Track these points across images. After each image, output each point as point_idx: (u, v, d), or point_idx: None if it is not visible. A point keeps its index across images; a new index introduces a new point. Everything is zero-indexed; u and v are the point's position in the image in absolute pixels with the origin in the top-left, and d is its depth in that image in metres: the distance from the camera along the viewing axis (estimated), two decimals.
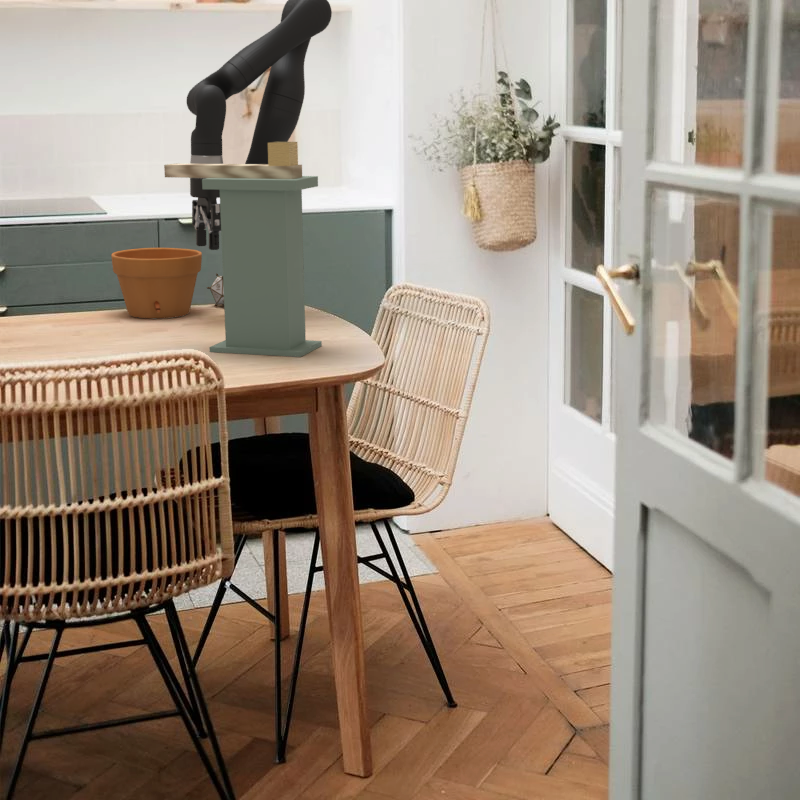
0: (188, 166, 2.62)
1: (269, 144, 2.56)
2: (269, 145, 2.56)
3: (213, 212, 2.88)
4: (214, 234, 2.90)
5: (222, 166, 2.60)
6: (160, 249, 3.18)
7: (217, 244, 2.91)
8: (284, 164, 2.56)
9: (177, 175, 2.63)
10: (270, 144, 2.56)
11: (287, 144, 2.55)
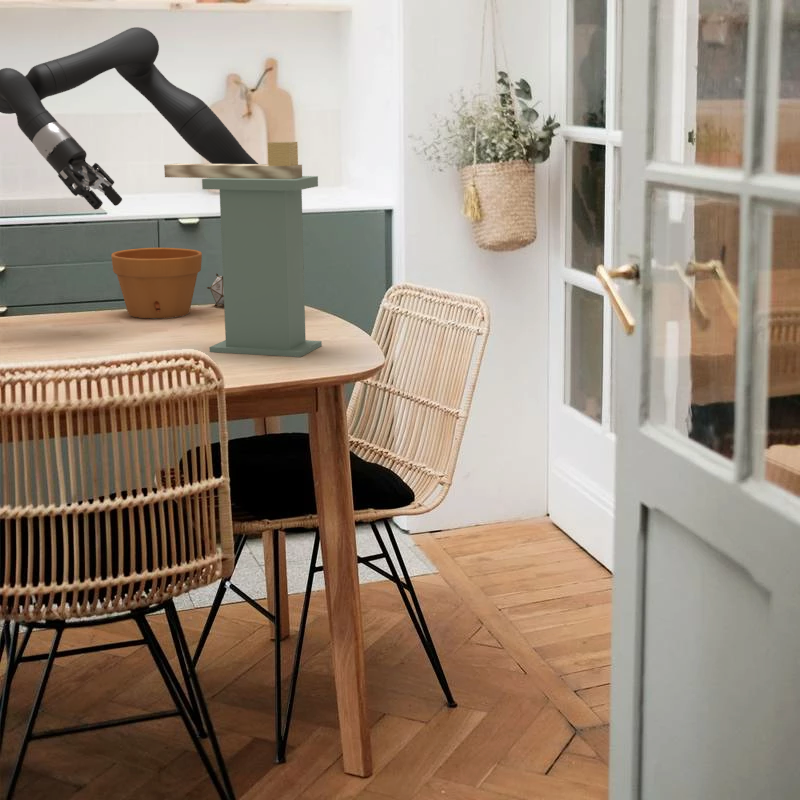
0: (188, 166, 2.62)
1: (269, 144, 2.56)
2: (269, 145, 2.56)
3: None
4: None
5: (222, 166, 2.60)
6: (160, 249, 3.18)
7: None
8: (284, 164, 2.56)
9: (177, 175, 2.63)
10: (270, 144, 2.56)
11: (287, 144, 2.55)
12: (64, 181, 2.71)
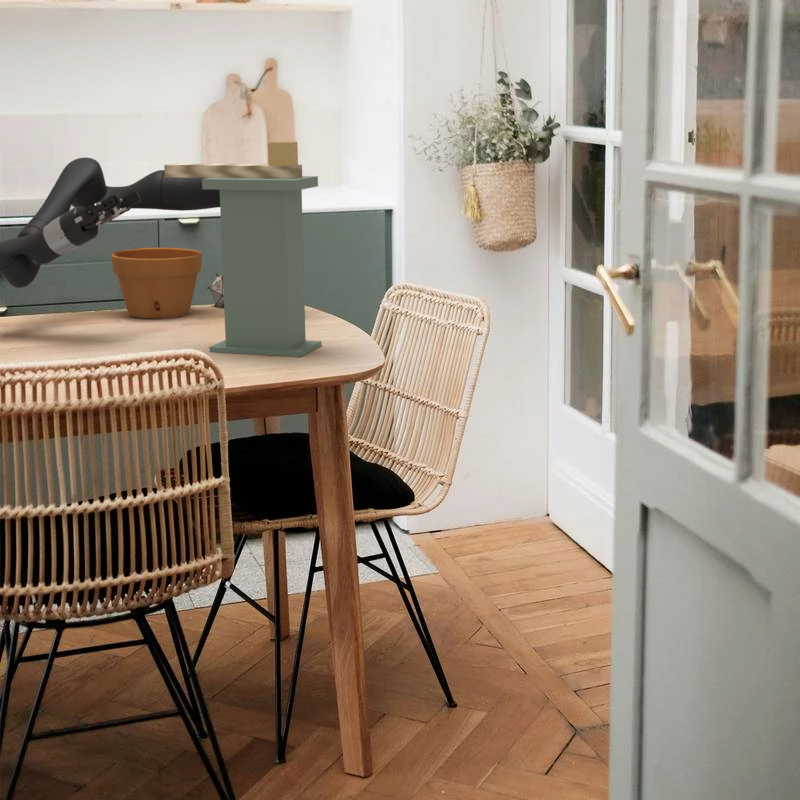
0: (188, 166, 2.62)
1: (269, 144, 2.56)
2: (269, 145, 2.56)
3: None
4: None
5: (222, 166, 2.60)
6: (160, 249, 3.18)
7: None
8: (284, 164, 2.56)
9: (177, 175, 2.63)
10: (270, 144, 2.56)
11: (287, 144, 2.55)
12: (83, 221, 2.68)
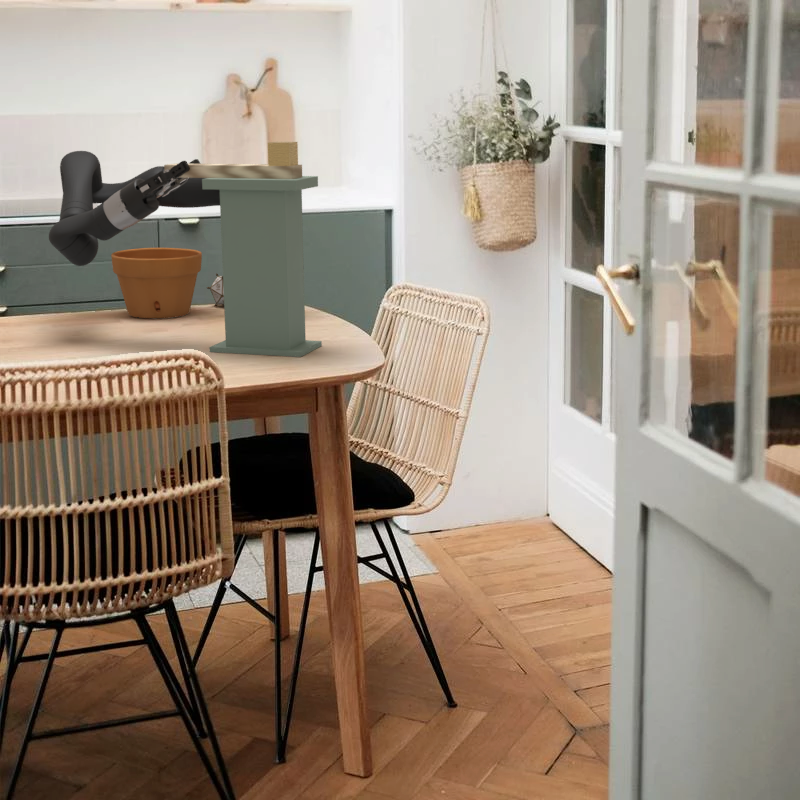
0: None
1: (269, 144, 2.56)
2: (269, 145, 2.56)
3: None
4: None
5: (222, 166, 2.60)
6: (160, 249, 3.18)
7: None
8: (284, 164, 2.56)
9: None
10: (270, 144, 2.56)
11: (287, 144, 2.55)
12: (151, 189, 2.61)
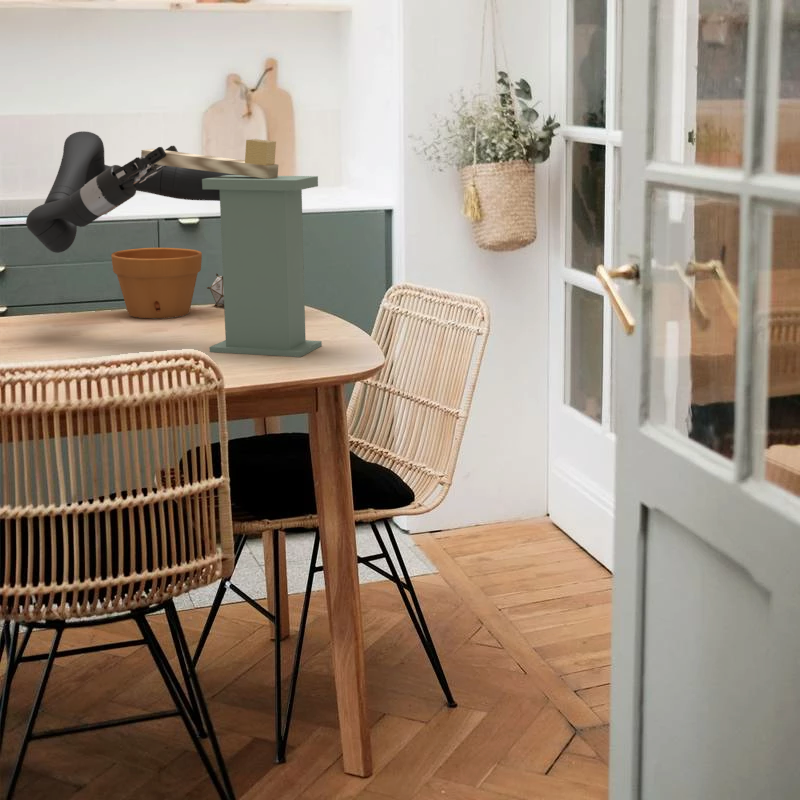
0: None
1: (247, 141, 2.57)
2: (247, 142, 2.57)
3: None
4: None
5: (199, 158, 2.60)
6: (160, 249, 3.18)
7: None
8: (260, 163, 2.57)
9: None
10: (248, 142, 2.57)
11: (265, 144, 2.56)
12: (127, 175, 2.62)
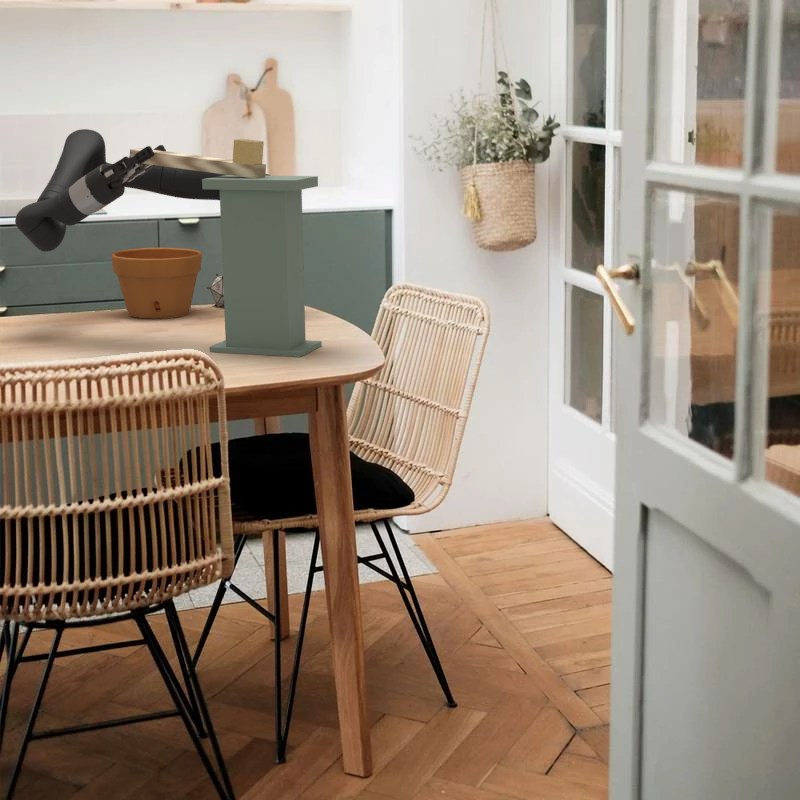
0: None
1: (235, 141, 2.58)
2: (235, 142, 2.58)
3: None
4: None
5: (187, 157, 2.61)
6: (160, 249, 3.18)
7: None
8: (248, 163, 2.58)
9: None
10: (236, 141, 2.58)
11: (253, 143, 2.57)
12: (115, 174, 2.63)
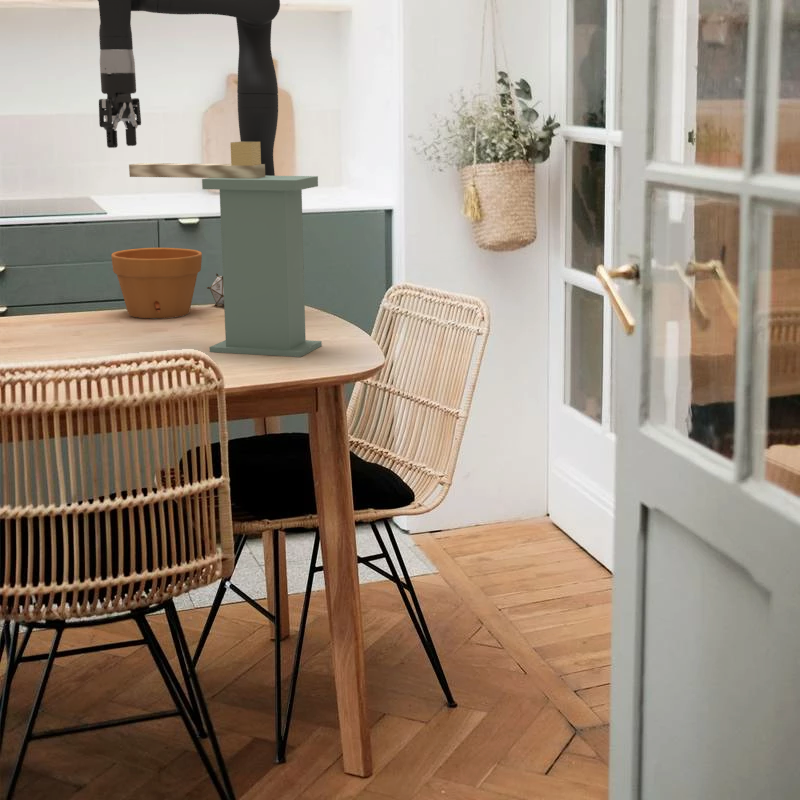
0: (152, 166, 2.64)
1: (232, 144, 2.58)
2: (232, 145, 2.58)
3: None
4: None
5: (186, 166, 2.62)
6: (160, 249, 3.18)
7: None
8: (247, 164, 2.58)
9: (142, 175, 2.65)
10: (233, 144, 2.58)
11: (249, 144, 2.57)
12: (100, 109, 2.80)
